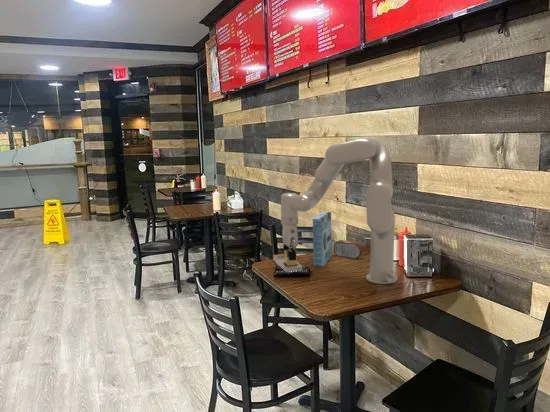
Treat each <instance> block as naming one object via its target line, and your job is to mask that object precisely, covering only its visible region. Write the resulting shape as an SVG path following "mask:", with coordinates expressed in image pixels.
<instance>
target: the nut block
mask: <svg viewBox="0 0 550 412" xmlns="http://www.w3.org/2000/svg"><path fill="white" fill-rule="evenodd" d="M289 252H290V250H289V249H286V250H284V258H285V266H286V267H289V266H297V262H298V259H297V250H296V260H291V261H290V260H289Z"/></svg>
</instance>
